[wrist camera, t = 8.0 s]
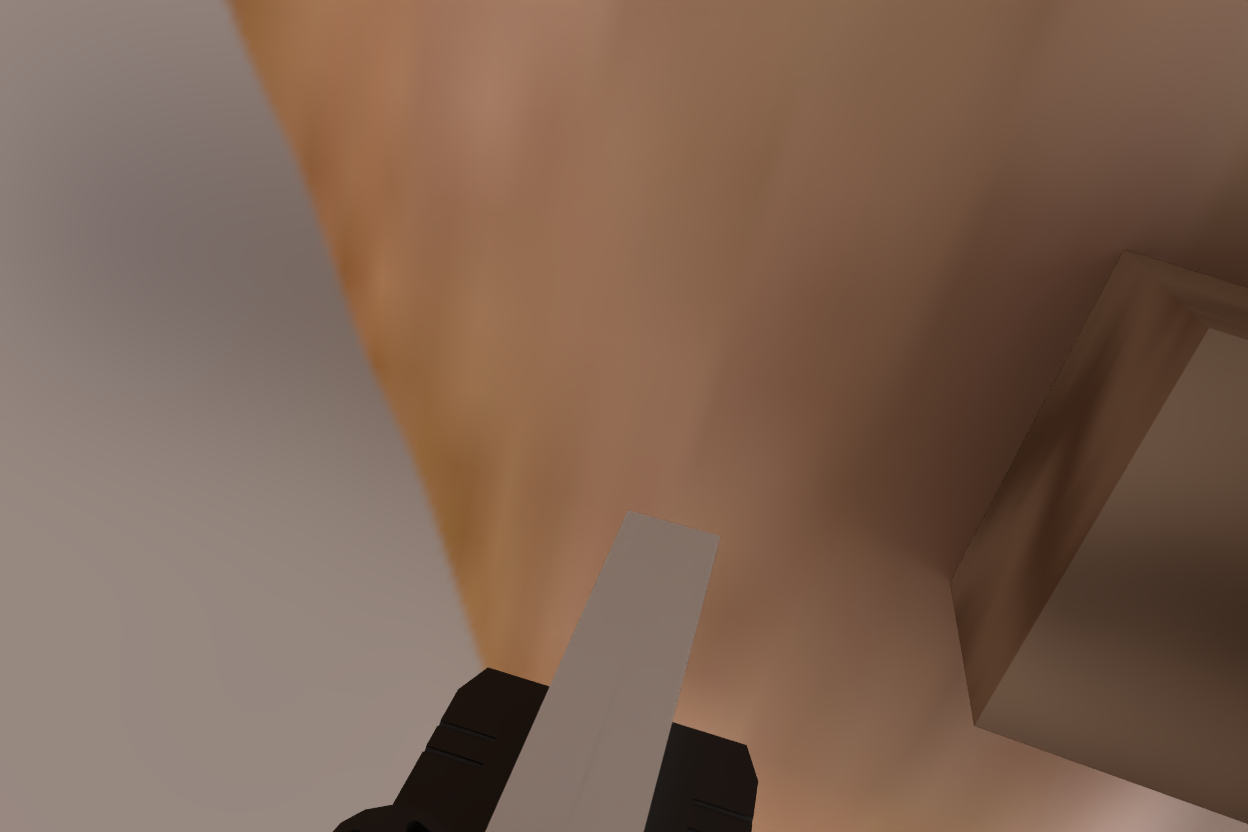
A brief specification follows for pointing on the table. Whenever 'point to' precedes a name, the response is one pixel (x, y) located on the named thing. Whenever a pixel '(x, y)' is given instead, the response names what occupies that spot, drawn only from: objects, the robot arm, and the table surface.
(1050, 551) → the walnut block
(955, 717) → the table surface
